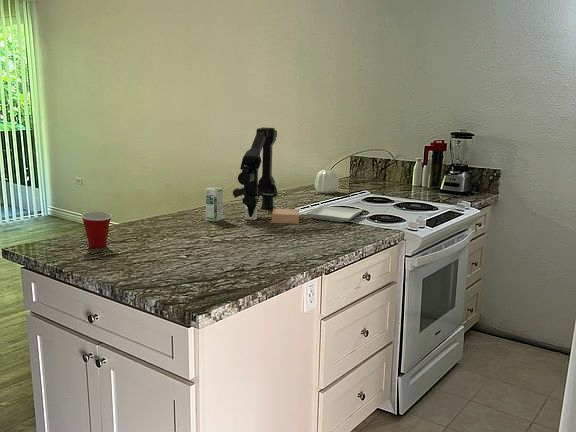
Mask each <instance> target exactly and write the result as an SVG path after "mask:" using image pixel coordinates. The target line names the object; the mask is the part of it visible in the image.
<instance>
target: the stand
mask: <svg viewBox="0 0 576 432" xmlns="http://www.w3.org/2000/svg"><path fill="white" fill-rule="evenodd" d="M271 224H291V225H292V224H294V225H295V224H296V225H297V224H300V209H299V208H298V209H295V208H274V209H272V212H271Z"/></svg>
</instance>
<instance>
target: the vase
mask: <svg viewBox="0 0 576 432" xmlns="http://www.w3.org/2000/svg"><path fill="white" fill-rule="evenodd" d="M339 182H340V181H339V176H338V174H337V173H336V172H335V171H334V170H333V169H329V168H328V169H326V168H324V169H321V170H320V171H318V172H317V174H316V176H315V179H314V189H315V190H316V191H317V192H318V193H320V194H327V195H328V194H333V193H336V192H337V191H338V189H339V185H340V184H339Z"/></svg>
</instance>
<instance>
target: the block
mask: <svg viewBox="0 0 576 432" xmlns="http://www.w3.org/2000/svg"><path fill="white" fill-rule="evenodd" d="M244 214H245V215H244V220H253V221H254V220H257V218H258V206H256V207H255V210H254V212H253V215H252V217H249V213H248V208H247V206H246V205H245V207H244Z"/></svg>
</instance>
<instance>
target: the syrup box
mask: <svg viewBox="0 0 576 432" xmlns="http://www.w3.org/2000/svg"><path fill="white" fill-rule="evenodd" d="M223 192H224V190H223V187H216V186H215V187H213V186H211V187H207V188H205V221H209V222H220V221H223V218H224V217H223V213H224V212H223V210H224V209H223V206H224V205H223V204H224V203H223V201H224V199H223V198H224V196H223V195H224V193H223Z"/></svg>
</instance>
